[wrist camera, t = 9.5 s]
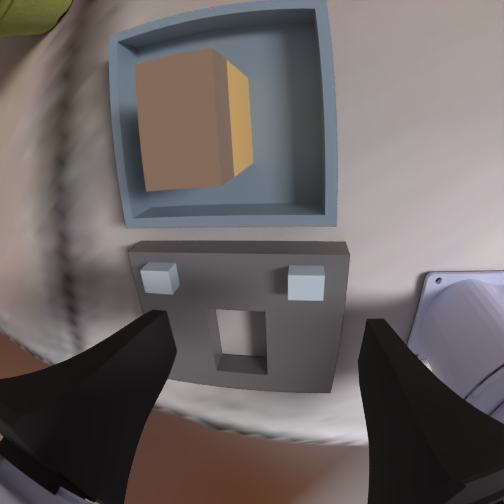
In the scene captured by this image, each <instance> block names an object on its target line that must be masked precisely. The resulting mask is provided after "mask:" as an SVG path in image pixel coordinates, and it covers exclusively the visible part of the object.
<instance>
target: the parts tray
mask: <svg viewBox="0 0 504 504" xmlns="http://www.w3.org/2000/svg"><path fill="white" fill-rule="evenodd" d="M207 48H213V49H215V50H216V51H217V52H218V53H219V54H221V55H222V56H223V57H224V58H225V59H227V60H228V61H229V62H230V63H231V64H232V65H234V66H235V67H236V68H237V69H238V70H239V71H240V72H242V73H243V74H244V75H245V76H246V77H247V78H248V84H249V99H250V115H251V131H252V148H253V164H251V165H250V166H249V167H247V168H246V169H245V170H243V171H242V172H241V173H239V174H238V175H237V176H235V177H234V178H233V179H231V180H230V181H229V182H227V183H226V184H225V185H223V186H222V187H203V188H187V189H172V190H159V191H147V192H146V186H145V179H144V171H143V163H142V154H141V145H140V135H139V123H138V111H137V95H136V74H135V65H137V64H140V63H144V62H147V61H151V60H155V59H159V58H163V57H167V56H172V55H176V54H181V53H185V52H190V51H196V50H201V49H207ZM109 86H110V106H111V120H112V132H113V142H114V151H115V160H116V168H117V175H118V182H119V189H120V195H121V201H122V207H123V213H124V219H125V224H126V228H158V227H219V226H310V227H336V225H337V190H338V147H337V112H336V93H335V77H334V64H333V53H332V43H331V34H330V25H329V17H328V9H327V2H326V0H269V1H256V2H246V3H238V4H231V5H224V6H218V7H212V8H206V9H201V10H196V11H192V12H187V13H183V14H179V15H175V16H171V17H167V18H163V19H160V20H156V21H153V22H149V23H146V24H143V25H140V26H137V27H134V28H131V29H128V30H125V31H122V32H120V33H117V34H114V35H112V36H109Z"/></svg>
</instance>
